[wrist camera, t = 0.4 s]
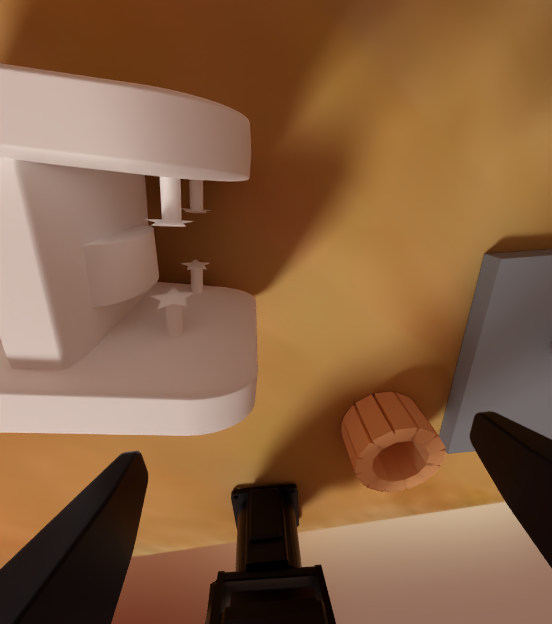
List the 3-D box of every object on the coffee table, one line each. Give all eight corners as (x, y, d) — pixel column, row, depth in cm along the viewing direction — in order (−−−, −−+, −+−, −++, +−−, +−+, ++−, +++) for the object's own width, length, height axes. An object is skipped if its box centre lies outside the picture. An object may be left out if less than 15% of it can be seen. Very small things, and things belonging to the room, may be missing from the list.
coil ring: (411, 446, 28) (436, 486, 24) (340, 454, 27) (353, 495, 24) (423, 388, 25) (452, 424, 21) (343, 396, 24) (359, 433, 21)
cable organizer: (266, 151, 17) (291, 94, 6) (253, 316, 21) (253, 454, 10) (-21, 114, 15) (-693, -56, 4) (28, 301, 19) (-249, 448, 9)
